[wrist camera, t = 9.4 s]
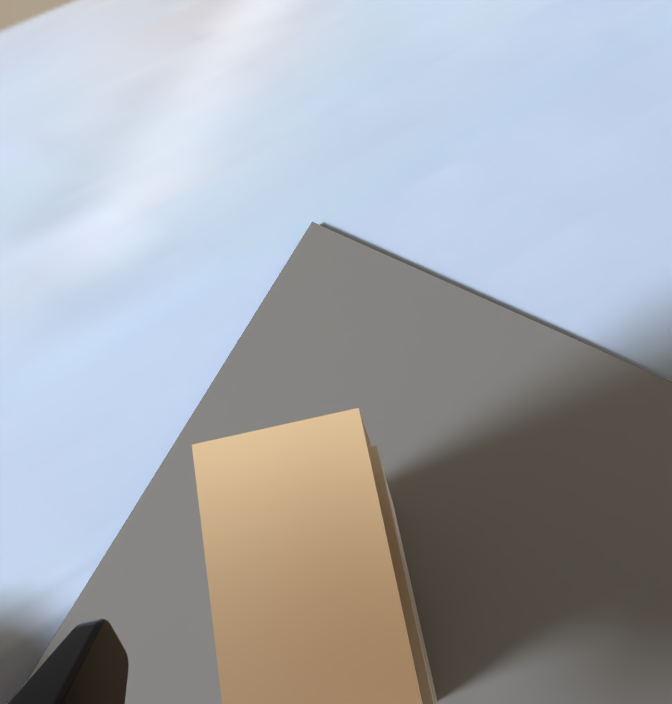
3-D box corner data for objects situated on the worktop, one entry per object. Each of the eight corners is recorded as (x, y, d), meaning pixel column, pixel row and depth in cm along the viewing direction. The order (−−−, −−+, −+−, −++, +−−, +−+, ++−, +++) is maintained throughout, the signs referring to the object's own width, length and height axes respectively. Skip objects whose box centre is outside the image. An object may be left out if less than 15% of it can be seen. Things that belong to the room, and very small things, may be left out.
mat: (837, 462, 18) (847, 460, 18) (583, 1213, 14) (589, 1231, 14) (313, 227, 23) (312, 221, 23) (-1, 734, 19) (-10, 738, 18)
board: (437, 702, 17) (520, 1102, 5) (367, 716, 17) (274, 1143, 5) (391, 495, 19) (367, 405, 7) (328, 508, 19) (191, 445, 7)
